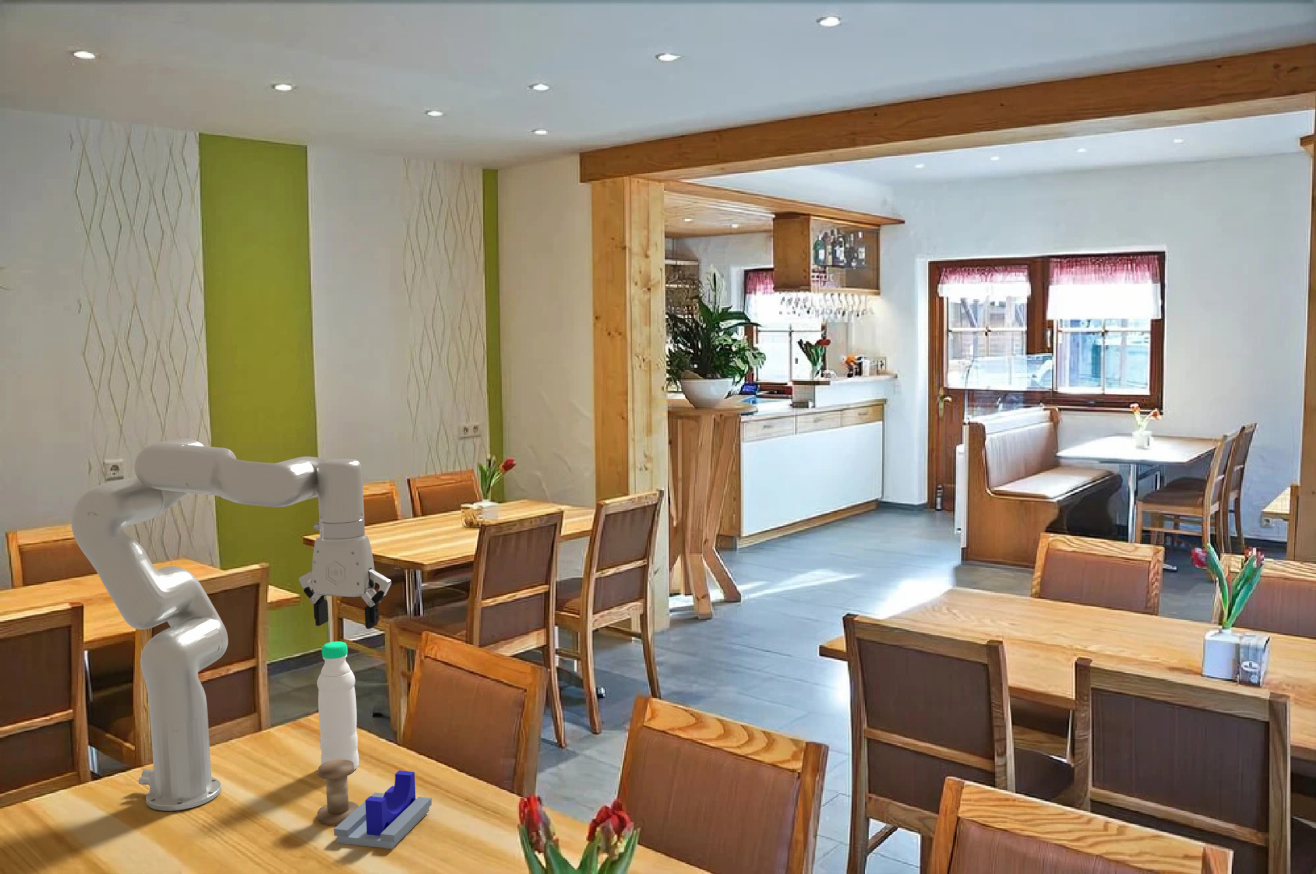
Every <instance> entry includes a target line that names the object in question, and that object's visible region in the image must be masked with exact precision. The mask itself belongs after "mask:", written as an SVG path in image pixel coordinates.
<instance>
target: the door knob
mask: <svg viewBox="0 0 1316 874" xmlns="http://www.w3.org/2000/svg"><path fill="white" fill-rule="evenodd" d="M317 769H318V770H317V772H318V777H320V779H324V780H325V786H326V788H325V789H326V791H325V792H326V804H325V805H323V806H321V807H320V808H319V809H318V810H317V815H316V816H317V821H318V822H319V823H320V824H323V825H327V826H335V825H337V826H338V825H339V824H340V823H341V822H342V821H343V820H344V819H346V818H347V817H348V816H349V815H350V814H351V813H352V812H354V811H355V810H356V809H357V808H358V807H359V806H360V805H358V804H357V803H356V802H353V801H349V784H348V782H349V781H348V776H351V774H353V773H354V772H355V770H354V763H353V762H352V761H350V760H343V759H340V760H332V761H328V762H325V763H323V764H322V765H321V764H320V765H319V766H318V768H317Z"/></svg>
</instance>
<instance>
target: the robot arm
mask: <svg viewBox="0 0 1316 874" xmlns="http://www.w3.org/2000/svg"><path fill="white" fill-rule="evenodd" d="M133 469H134V474H135V476H132V477H128V478H123V479H122V478H121V479H117V480H112V481H108V482H105V483H102V484H99V485H97V486H94V487H92V488H91V489H89V490H88V491H86V492H85V493H84V494H82V496H81V497H80V498H79V499H78V500H77V502H76V503H75V505H74V507H73V510H72V515H71V531H72V535H73V537H74V540H75V541H76V543H77V546H78V547H79V549H80V550H81V552H82V553H83V554H84V556H85V558H86V559H87V560H88V561H89V563H90V564H91V566H92V567H93V568H94V570H95V572H96V573H97V575H98V576H99V578H100V580H101V583H102V585H103V586H104V588H105V589H106V591H107V592H108V595H109V597H111V600H112V601H113V603H114V605H115V606H116V608H117V610H118V611H119V614H120V615H121V616H122V618H123V620H124V621H125V622H126V623H127V625H129V626H130V627H131V628H133V629H135V630H148V629H151V628H155V627H157V626H159V625H161V624H164V623H168V625H169V627H168V628H166V629H164V630H162V631H160V632H159V633H157V634H155V635H154V636H152V638H150V639H149V640H148V641H147V642H146V644H144V645H145V646H143V649H142V652H141V654H140V668H141V669H140V670H141V673H142V676H143V679H144V684H145V686H146V687H145V688H146V693H147V698H148V699H147V700H148V707H149V709H148V710H149V720H150V734H151V748H152V749H151V750H152V764H153V769H151V768H144V769H143V770H142V772H141V776H140V777H138V781H137V783H138V784H139V785H143V786H147V785H148V786H149V791H148V793H146V797H145V800H146V801H145V802H146V805H147V806H148V807H149V808H151V809H153V810H157V811H161V812H162V811H163V812H164V811H165V812H168V811H169V812H173V811H181V810H188V809H192V808H196V807H198V806H201V805H203V804H206V803H208V802H211V801H212V800H215V798H216V797H218V796H219V794H220V793H221V791H222V784H221V782H220V780H218V779H217V778H215V777H212V764H211V763H212V762H211V749H210V748H211V747H210V746H211V745H210V733H209V717H208V715H209V714H208V713H209V712H208V703H207V695H206V692H205V689H204V686H203V685H202V682H201V680H200V679H199V672H201V671H202V670H204V669H205V668H207V667H209V666H210V665H212V664H214V663H215V662H217V661H218V660H219V659H220V658H222V657H223V656H224V654H225V653H226V651H227V648H228V645H229V637H228V636H229V635H228V632H227V628H226V626H225V624H224V622H223V621H222V619H221V617H220V615H219V613H218V611H217V609H216V608H215V606H214V605H213V603H212V601H211V599H210V597H209V596H208V595H207V593H206V591H205V589H204V588H203V587H204V586H202V583H201V582H200V581H199V579H197V577H196V576H195V575H194V574H193V573H191V572H190V571H189V570H187V569H186V568H183V567H181V566H176V565H175V566H173V565H170V566H169V565H168V566H164V567H161V568H158V569H157V568H156V567H155V566H154V564H153V563H152V561H151V559H150V557H149V556H148V554H147V552H146V550H145V549H144V548H143V546H142V545H141V544H140V543H139V542H138V541H137V540H136V539H134V538H132V537H131V535H129V534H127V533H126V532H125V529H126V527H130V526H132V525H136V524H140V523H143V522H147V521H150V520H152V519H155V518H158V517H159V516H161V515H162V514H164V513H165V512H167V511H168V510H169V509H170V508H171V507H173V505H175V504H176V503H178V501H180V500H181V499H182V498H183V497H184V496H185V495H186V494H197V495H206V496H207V495H209V496H215V497H220V498H222V499H224V500H227V501H229V502H232V503H235V504H236V503H237V504H241V505H249V506H258V507H267V508H283V507H290V506H293V505H295V504H298V503H301V502H303V501H306V500H309V499H310V500H311V499H314V498H318V500H317V501H318V502H317V503H318V517H319V520H318V521H317V522H314V524H313V529H314V531H315V530H316V531H318V534H319V536H318V537H316V538H315V542H314V546H313V547H314V548H313V555H312V563H311V565H312V566H311V567H312V568H311V569H312V570H311V571H308V572H307V573H305V574H304V575H302V576H299V578H298V582H299V583H300V585H301V587H302V589H303V593H304V594H305V595H306V596H307V597H308V598H309V600H310V602H309V603H311V604H313V618H314V620H315V621H314V622H315V626H316V627H320V626H322V625H324V624H326V623H328V622H329V604H328V600H327V599H326V597H331V596H332V597H345V598H346V597H347V598H357V597H361V599H362V600H363V601H364V602H365V603H366V605H365V606H364V621H365V623H364V626H365V629H367V630H371V629H372V628H374V627H376V626H377V625H378V624H379V620H380V613H379V612H380V611H379V603H381V602H382V600H384V598H385V597H386V596H387V594H388V591H389V589H390V587H391V585H392V580H391V579H389V578H388V577H386V576H385V575H383V574H381V573H380V572H377V571H376V570H375V564H374V563H375V562H374V556H373V552H372V551H373V549H372V547H371V541H370V539H369V536H368V535H366V528H365V509H364V508H365V507H364V506H365V505H364V502H365V501H364V483H363V480H364V479H363V467H362V463H360V461H358V459H355V458H332V459H328V458H322V457H316V456H299V457H295V458H290V459H287V460H284V461H280V462H276V463H275V462H259V461H249V460H242V459H237V456H236V454H235V453H234V452H233V451H232V450H231V449H229V448H226V447H216V446H205V445H204V444H203V443H202V442H199V441H198V440H196V439H193V438H188V437H182V438H175V439H169V440H163V441H158V442H155V443H152V444H150V445H148V446H146V447H144V448H143V449H141V451H140V452H139V453H138V454H137V456H136V458H135V460H134V465H133ZM376 583H377V584H378V586H379V589H378V591H376V589H375V586H376Z"/></svg>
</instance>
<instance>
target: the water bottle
mask: <svg viewBox="0 0 1316 874" xmlns="http://www.w3.org/2000/svg"><path fill="white" fill-rule="evenodd" d="M321 655H322V659H323V660H324V664H323V666H322V668H321V672H320V673H319V676H318V677H317V680H316V685H317V689H318V692H317V693H318V694H317V695H318V696H317V700H318V702H317V705H318V706H317V708H318V723H319V730H320V738H319V743H320V745H319V746H320V751H321V755H320V765H322V764H323V763H325V762H328V761H332V760H340V759H343V760H350V761H352V762H353V763H354V771H355V770H356V769H357V768H359V763H360V755H359V749H358V744H359V738H358V732H357V726H358V725H357V723H358V722H357V718H358V716H357V698H356V689H355V685H356V678H355V674H354V672H353V671H352V669H351V668H350V665H349V663H348V662H347V660H346V659H347V657H348V645H347V642H343V641H331V642H330V641H329V642H327V643H325V644H324V645H322V647H321Z"/></svg>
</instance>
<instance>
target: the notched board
mask: <svg viewBox="0 0 1316 874" xmlns="http://www.w3.org/2000/svg"><path fill="white" fill-rule="evenodd" d="M384 793H385V792H384ZM384 793H383V792H374V793H373V794H372V795H371V796H372V797H382V798H383V796H384ZM432 799H433V798H432V797H425V796H418V797H417V798H416V800H415V801H414V802H413V803H412V804H411V805H410V806H409V807H408V808H407V809H406V810H404V811H403V812H402V813H401V814H400V815H399V816H398V817H397V818H396V819H395V820H394V821H393V822H392V823H391V824H390V825H389V826H388V827H387V828H386V829H385V830H384V831H383V832H382V833H381V834H380V836H377V835H368V834H367V828H366V805H365V801H364V802H362V804H360V805H358V806H359V807H358V808H357V809H356V810H355V811H354V812H352V813H351V814H350V815H349V816H348V817H347V818H346V819H344V820H343V821H342V822H341V823H340V824H338V825H337V826H335V827H334V828H333V835H334V836H335V837H336V843H338V844H344V845H351V846H352V845H353V846H360V847H361V846H362V847H363V846H364V847H370V848H371V847H372V848H380V849H389V850H392V849H394V848H395V846H397V844H399V843H400V842H401V840H402V839H404V837H406V835H408V833H409V832H410V831H411V830H412V829H413V828H414V827H416V825H417V824H418V823H419V822H420V821H421V820H422V819H423V818H424V817H425V816H426V815H427V814H428V813H429V812H430V807H431V806H432V805H433V804H432V801H433V800H432Z"/></svg>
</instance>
